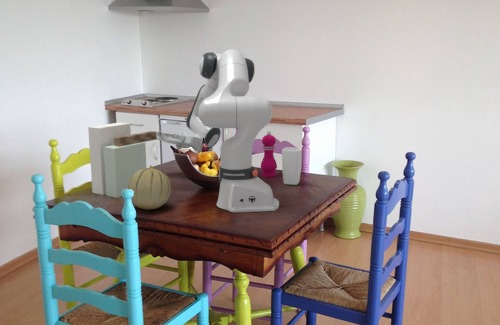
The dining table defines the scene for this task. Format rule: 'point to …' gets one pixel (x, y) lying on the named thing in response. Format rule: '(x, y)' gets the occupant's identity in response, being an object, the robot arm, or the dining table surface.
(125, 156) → the pale green block
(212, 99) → the robot arm
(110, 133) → the tall stand
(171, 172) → the dining table surface
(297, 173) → the cup
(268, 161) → the pepper mill
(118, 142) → the walnut bar
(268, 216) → the dining table surface
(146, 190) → the cantaloupe
